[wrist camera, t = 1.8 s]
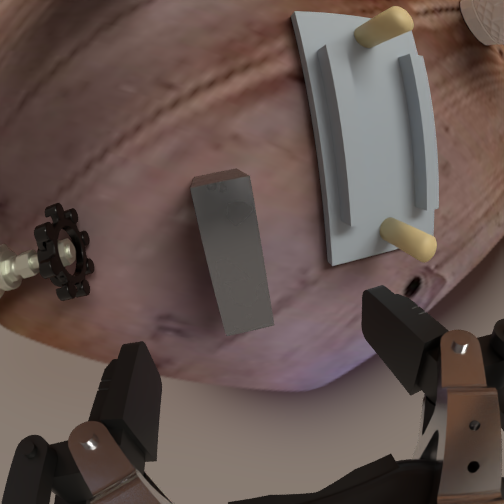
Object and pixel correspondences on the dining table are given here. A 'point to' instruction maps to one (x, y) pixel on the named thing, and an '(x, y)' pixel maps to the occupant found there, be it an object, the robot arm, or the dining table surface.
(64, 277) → the valve
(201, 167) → the dining table surface
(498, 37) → the white cup
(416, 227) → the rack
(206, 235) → the gray rectangular block
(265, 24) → the dining table surface
